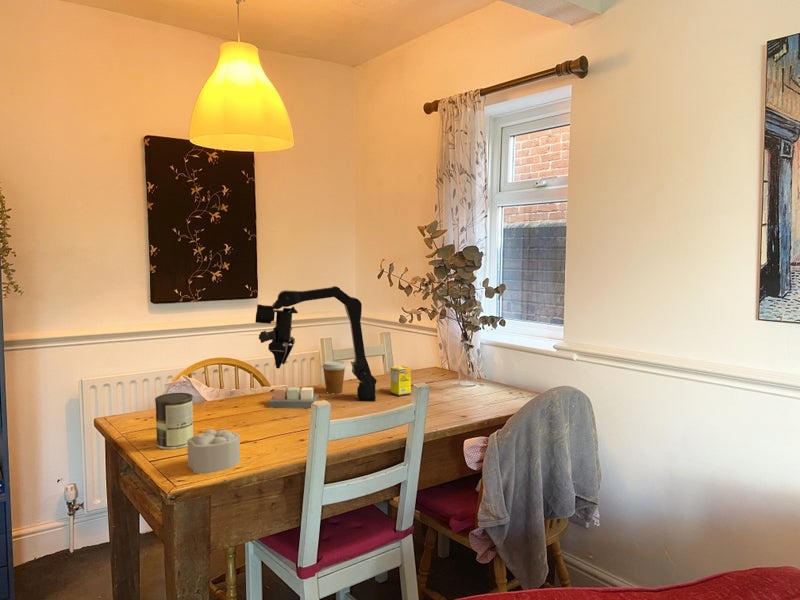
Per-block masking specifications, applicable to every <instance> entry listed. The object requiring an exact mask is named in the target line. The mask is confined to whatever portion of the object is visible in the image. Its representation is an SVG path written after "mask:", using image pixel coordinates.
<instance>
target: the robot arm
mask: <svg viewBox="0 0 800 600" xmlns="http://www.w3.org/2000/svg"><path fill="white" fill-rule="evenodd" d="M328 298H335V299H337V301H339V302H341V304H343V305H344V309H345V312H346V315H347V318H348V321H349V324H350V332H351V339H352V345H353V352H354V361H350V364H351V372H352V374H353V375H354V376H355V378H356V380H358V381H359V383H358V386H357V391H356V393H357V394H356V395H357V396H356V397H357V400H358V401H359V402H363V401H366V402H368V401H369V402H375V401H376V399H377V395H376V384H377V381H378V380H377V379H376V378H375V376H373V374H372V372H371V369H370V365H369V362H368V361H367V358H366V352H365V345H364V344H365V343H364V339H363V330H362V323H361V321H362V320H361V318H362V309H363V308H362V306H363V305H362V302H361V300H359V299H358V298H356V297H354V296H350V295H349V294H347V293H346V292H344V291H343V290H341V288H340V287H339V286H336V285H334V286H330V287H323V288H314V289H309V290H308V289H307V290H287V289H285V290H281V291H280V292H279V293H278V295H277V299H276V300H275V302H273V304H272V305H266V304H256V313H255V321H254V322H255V323H254V324H267V325H268V324H269V325H270V324H272V323H273V322H275V326H274V327H273V328H272V329H273V330H269V331H266V330H263V331H260V334H258V340H260V343H261V344H262V343H265V342H268V341H271V342H270V343H268V345H267V346H268V351H269V352H270V353H272V355H273V357H274V363H275V368H276V369H280V368H281V366H282V365H284V364H286V361H287V359H288V358H289V355H290V354H291V351H292V349H293V348H294V345H295V344H296V342H295V341H296V339H295V337H293V336H291V335H292V331H293V327H292V325H293V323H292V321H293V314H298V313H299V312H298V311H297V309H296V308H295V306H294V305H298V304H301V303H303V302H306V301H307V302H309V301H315V300H321V299H322V300H323V299H328ZM291 306H292V307H291ZM289 307H290V308H289ZM281 308H282V309H281ZM275 313H276V315H275Z"/></svg>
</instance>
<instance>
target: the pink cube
mask: <svg viewBox="0 0 800 600" xmlns="http://www.w3.org/2000/svg"><path fill="white" fill-rule="evenodd" d="M287 390H288V387H284V386H283V387H282V386H281V387H279V386H278V387H276V386H275V388H274V389H273V396H274V399H286V398H287Z"/></svg>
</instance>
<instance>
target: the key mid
mask: <svg viewBox="0 0 800 600" xmlns="http://www.w3.org/2000/svg"><path fill="white" fill-rule="evenodd" d="M300 395H301V387H298V386H297V387H291V386H290V387H287V400H299V399H300Z"/></svg>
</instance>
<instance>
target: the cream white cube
mask: <svg viewBox="0 0 800 600" xmlns="http://www.w3.org/2000/svg"><path fill="white" fill-rule="evenodd" d="M300 395H301V400H312V399H313V395H314V387H302V388H300Z"/></svg>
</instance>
